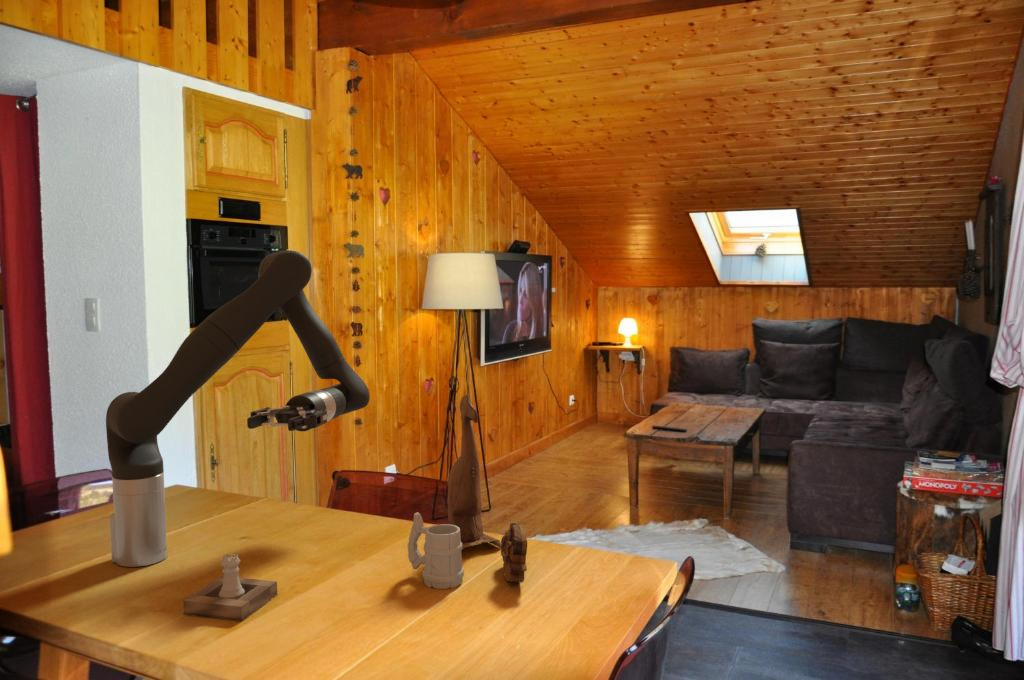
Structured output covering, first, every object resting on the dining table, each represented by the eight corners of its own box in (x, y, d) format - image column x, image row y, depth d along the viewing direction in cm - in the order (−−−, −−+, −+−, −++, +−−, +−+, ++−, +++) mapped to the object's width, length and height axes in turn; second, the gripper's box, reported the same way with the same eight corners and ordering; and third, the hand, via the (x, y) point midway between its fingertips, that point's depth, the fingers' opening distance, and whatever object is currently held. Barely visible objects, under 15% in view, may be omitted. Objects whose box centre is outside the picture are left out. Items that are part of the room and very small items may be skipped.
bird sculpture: (458, 562, 160) (460, 402, 156) (425, 545, 169) (427, 393, 165) (502, 550, 167) (506, 397, 163) (469, 534, 176) (472, 388, 172)
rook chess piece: (251, 598, 141) (249, 553, 140) (234, 608, 137) (232, 562, 136) (229, 594, 143) (228, 550, 142) (212, 604, 138) (210, 559, 138)
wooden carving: (492, 563, 158) (492, 513, 158) (515, 561, 159) (515, 512, 159) (509, 597, 142) (509, 541, 142) (535, 594, 143) (535, 539, 142)
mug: (448, 593, 144) (447, 527, 143) (396, 580, 150) (395, 516, 149) (472, 578, 151) (471, 515, 150) (421, 567, 157) (420, 506, 156)
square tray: (183, 614, 136) (182, 600, 135) (222, 589, 146) (222, 575, 146) (241, 621, 133) (241, 606, 133) (277, 595, 144) (276, 581, 143)
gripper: (279, 390, 171) (235, 403, 155) (341, 393, 168) (302, 406, 152) (280, 426, 172) (236, 442, 156) (342, 429, 168) (304, 445, 153)
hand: (269, 424), depth 154 cm, fingers open, 8 cm apart
